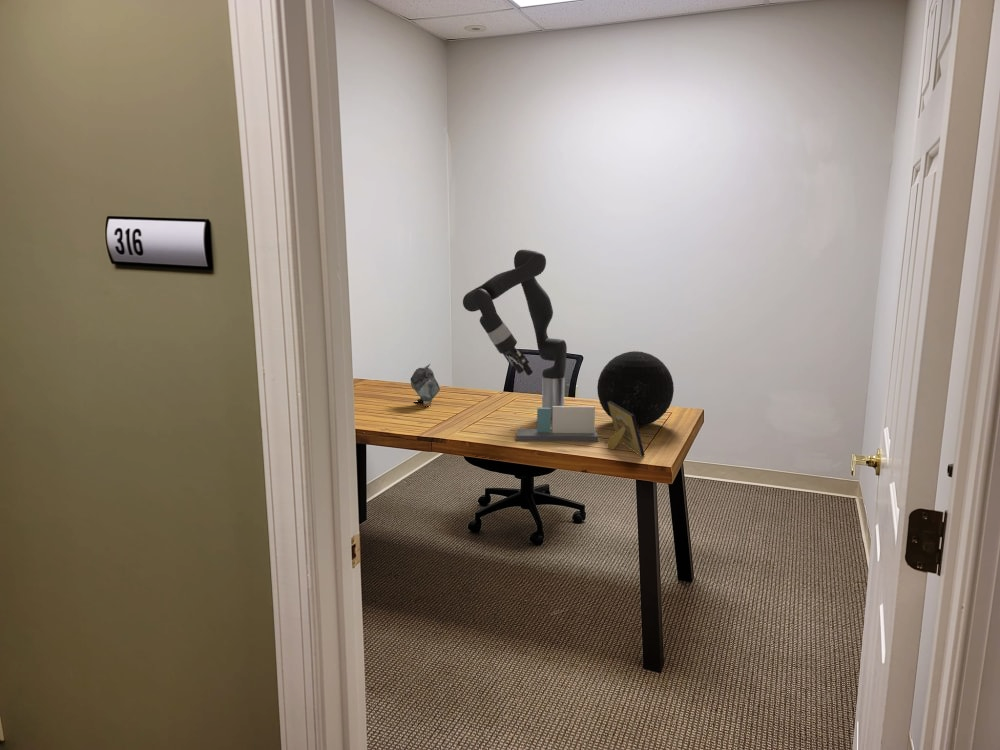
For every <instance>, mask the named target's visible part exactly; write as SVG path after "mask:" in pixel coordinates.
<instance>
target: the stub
mask: <svg viewBox="0 0 1000 750" xmlns="http://www.w3.org/2000/svg"><path fill="white" fill-rule="evenodd" d="M536 414H537V415H536V429H537V432H550V429H551V424H552V419H551V408H542V407H537V408H536Z"/></svg>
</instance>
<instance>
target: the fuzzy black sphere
mask: <svg viewBox="0 0 1000 750" xmlns="http://www.w3.org/2000/svg"><path fill="white" fill-rule="evenodd" d="M596 387H597V398H598V400H599V404H600V406H601V407H602V409H603V411H604V412H605V413H606V415H608V416H609V417H610V418H611V419H612V417H611V413H610V409H609V406H608V402H609V401H611V402H613V403H615V404H616V405H618V406H620V407H622V408H623V409H625V410H627V411H628V412H630V413H632V414H633V415H635V418H636V422H637V426H638V427H644V426H648V425H650V424H653V423H655V422H657V421H658V420H659V419H660V418H662V417H663V415H665V414H666V412H668V409H669V408H670V406H671V403H672V401H673V397H674V392H675V390H674V380H673V377H672V374H671V373H670V371H669V368H668V367H667V366H666V365H665V363H664V362H663V361H662V360H661V359H659V358H658V357H656V356H654V355H652V354H650V353H648V352H643V351H636V350H633V351H632V350H631V351H628V352H624V353H621V354H619V355H616V356H615V357H613V358H612V359H611V360H609V361H608V362H607V364H606V365H605V366H604V367H603V368H602V370H601V372H600V374H599V377H598V380H597V386H596Z"/></svg>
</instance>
